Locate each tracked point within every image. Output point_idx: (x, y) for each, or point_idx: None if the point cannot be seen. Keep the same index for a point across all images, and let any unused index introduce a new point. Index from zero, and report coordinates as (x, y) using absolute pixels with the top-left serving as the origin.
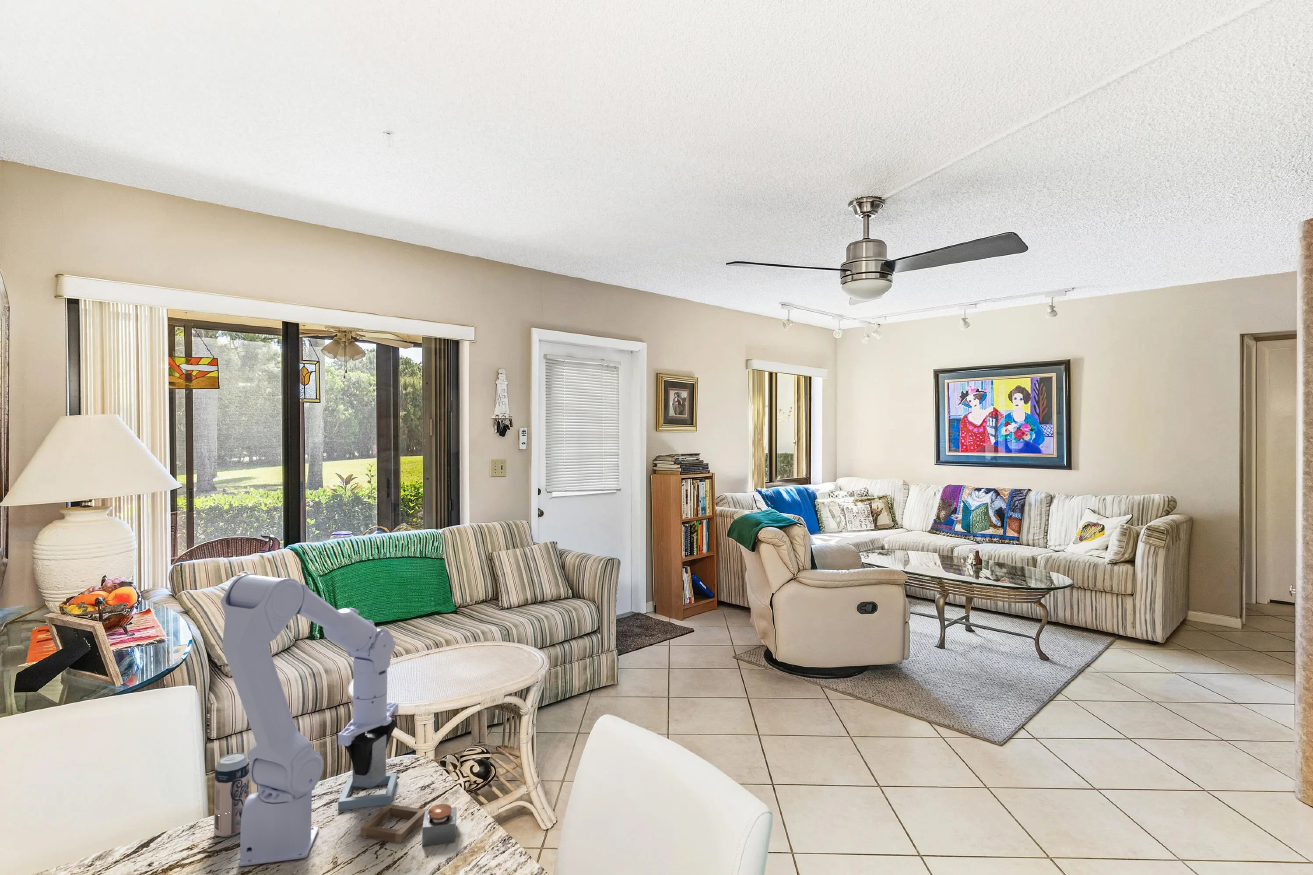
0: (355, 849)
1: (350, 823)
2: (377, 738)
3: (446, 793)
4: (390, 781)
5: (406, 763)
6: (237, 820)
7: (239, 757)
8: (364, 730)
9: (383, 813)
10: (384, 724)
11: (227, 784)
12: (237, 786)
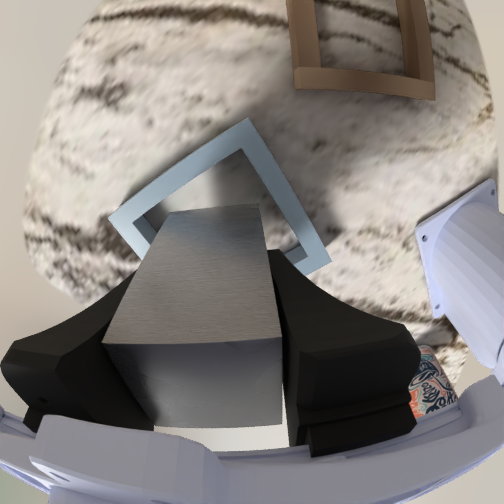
0: (455, 86)
1: (375, 168)
2: (186, 357)
3: (124, 6)
4: (161, 194)
5: (49, 253)
6: (434, 361)
7: None
8: (422, 458)
9: (358, 71)
10: (207, 463)
11: None
12: None
